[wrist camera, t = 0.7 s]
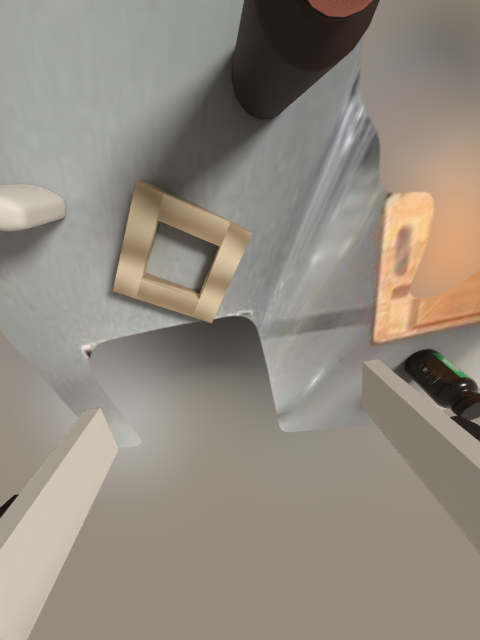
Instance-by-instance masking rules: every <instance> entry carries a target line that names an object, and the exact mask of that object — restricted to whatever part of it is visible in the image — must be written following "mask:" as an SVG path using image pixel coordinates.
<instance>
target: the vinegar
mask: <svg viewBox="0 0 480 640" xmlns="http://www.w3.org/2000/svg"><path fill="white" fill-rule="evenodd" d="M378 3H379V0H244V4H243V10H242V15H241V21H240V26H239V32H238V37H237V42H236V48H235V53H234V59H233V64H232V83H233V87H234V91H235V95H236V97H237V99H238V101H239V102H240V104H241V106H242V107H243V108H244V109H245V110H246V111H247V112H248V113H249V114H250V115H252V116H255V117H257V118H260V119H269V118H272V117H274V116H277V115H279V114H280V113H281V112H282V111H283V110H284V109H286V108H287V107H288V106H289V105H290V104H291V103H293V102H294V101H295V100H296V99H297V98H298V97H299V96H301V95H302V94H303V93H304V92H305V91H306V90H307V89H309V88H310V87H311V86H312V85H313V84H314V83H316V82H317V81H318V80H319V79H320V78H321V77H322V76H324V75H325V74H326V73H327V72H328V71H329V70H330V69H332V68H333V67H334V66H335V65H336V64H337V63H338V62H340V61H341V60H342V59H343V58H344V57H345V56H346V55H348V54H349V53H350V52H351V51H352V50H353V49H354V48H355V46H356V45H357V43H358V42H359V40H360V39H361V37H362V36H363V34H364V33H365V31H366V30H367V28H368V27H369V25H370V23H371V20H372V18H373V15H374V13H375V10H376V8H377V5H378Z"/></svg>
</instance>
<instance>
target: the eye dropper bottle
mask: <svg viewBox="0 0 480 640" xmlns="http://www.w3.org/2000/svg"><path fill="white" fill-rule="evenodd" d="M65 215H66V214H65V203H64V200H63V199H62V198H61V197H60V196H58V195H56V194H55V193H53V192H51V191H49V190H47V189H44V188H41V187H38V186H34V185H26V184H17V185H1V186H0V231H20V230H25V229H29V228H33V227H36V226H40V225H43V224H46V223H50V222H53V221H56V220H59V219H62V218H64V217H65Z"/></svg>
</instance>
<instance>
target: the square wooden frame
mask: <svg viewBox="0 0 480 640" xmlns="http://www.w3.org/2000/svg"><path fill="white" fill-rule="evenodd" d="M159 221H161V222H163V223H165V224H168V225H170V226H172V227H175V228H177V229H179V230H182V231H184V232H186V233H189V234H191V235H194V236H196V237H198V238H201V239H203V240H205V241H208V242H210V243H212V244H215V245H217V246H218V249H217V251H216V254H215V256H214V259H213V261H212V264H211V266H210V269H209V271H208V274H207V276H206V279H205V281H204V284H203V286H202V289H201V291H200V292H198V291H195V290H192V289H189V288H187V287H184V286H181V285H178V284H175V283H173V282H170V281H167V280H164V279H161V278H159V277H156V276H153V275H150V274H147V273H146V269H147V266H148V262H149V258H150V255H151V251H152V247H153V244H154V240H155V236H156V232H157V229H158V225H159ZM251 236H252V233H251V232H250V230H248V229H246V228H244V227H242V226H240V225H238V224H235V223H233V222H231V221H229V220H227V219H225V218H223V217H220V216H218V215H216V214H214V213H212V212H210V211H208V210H205V209H203V208H201V207H199V206H197V205H195V204H192V203H190V202H188V201H186V200H184V199H182V198H180V197H177V196H175V195H173V194H171V193H169V192H167V191H165V190H162V189H160V188H158V187H156V186H154V185H152V184H150V183H147V182H145V181H143V180H137V181H136V183H135V188H134V193H133V197H132V202H131V207H130V212H129V216H128V221H127V226H126V231H125V235H124V240H123V245H122V250H121V254H120V259H119V264H118V269H117V273H116V278H115V283H114V288H113V291H114V292H117V293H120V294H123V295H126V296H129V297H132V298H135V299H138V300H142V301H145V302H148V303H151V304H154V305H157V306H160V307H163V308H166V309H169V310H173V311H176V312H179V313H182V314H185V315H188V316H191V317H194V318H197V319H200V320H204V321H207V322H210V323H212V321H213V319H214V317H215V315H216V312H217V310H218V308H219V306H220V304H221V301H222V299H223V297H224V295H225V293H226V290H227V288H228V286H229V284H230V282H231V279H232V277H233V275H234V273H235V271H236V268H237V266H238V264H239V262H240V260H241V257H242V255H243V253H244V251H245V249H246V247H247V244H248V242H249V240H250V238H251Z"/></svg>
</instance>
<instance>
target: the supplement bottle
mask: <svg viewBox="0 0 480 640" xmlns="http://www.w3.org/2000/svg"><path fill="white" fill-rule="evenodd" d="M405 370H406V372H407V373H408V374H409V376H410V377H411V378H412V379H413V380H414V381H415V382H416V383H417V384H418V385H419V386H420V387H421V388H422V389H423V390H424V391H425V392H426V393H427V394H428V395H429V396H430V397H431V398H432V399H433V400H434V401H435V402H436V403H437V404H438V405H439V406H441V407H444V408H451V410H452V411H453V412H454V413H455V414H456V415H457V416H461V417H463V418H465V419H467V420H473V419H476V418H479V417H480V393H478V392H477V391H478V386H477V384H476V382H475V381H474V380H473V379H471V378H470V377H469V376H468V375H466V374H465V373H464V372H463V371H461V370H460V369H459V368H458V367H456V366H455V365H454V364H453V363H451V362H450V361H449V360H448V359H446V358H445V357H444V356H443V355H441V354H440V353H439V352H437V351H435V350H432V349H426V350H421V351H419V352H417V353H415V354H414V355H412V356H411V357H410V358H409V359H408V360H407V362H406V365H405Z"/></svg>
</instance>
